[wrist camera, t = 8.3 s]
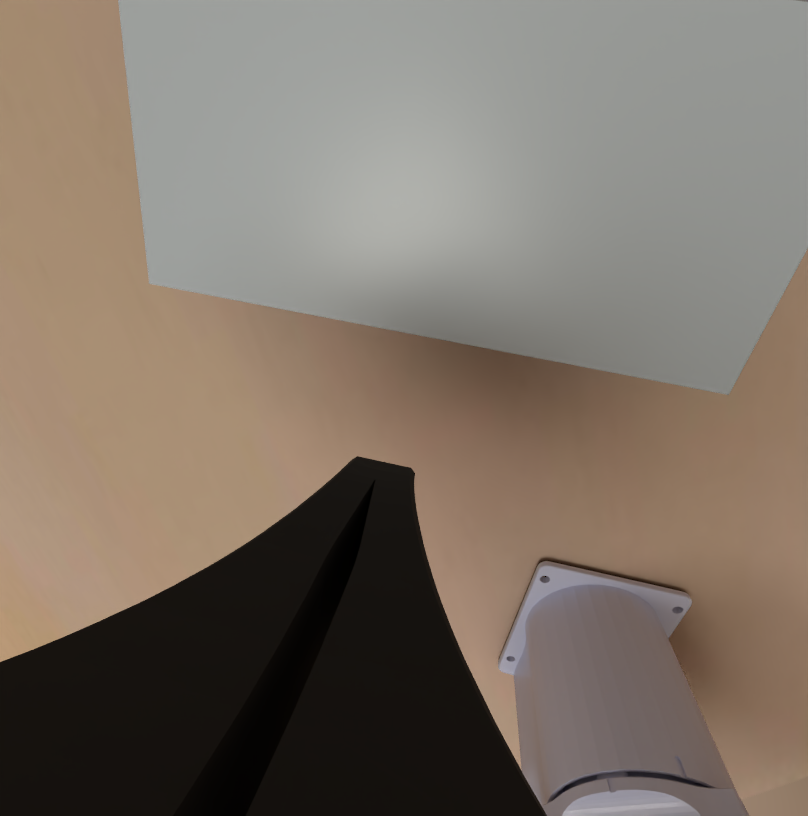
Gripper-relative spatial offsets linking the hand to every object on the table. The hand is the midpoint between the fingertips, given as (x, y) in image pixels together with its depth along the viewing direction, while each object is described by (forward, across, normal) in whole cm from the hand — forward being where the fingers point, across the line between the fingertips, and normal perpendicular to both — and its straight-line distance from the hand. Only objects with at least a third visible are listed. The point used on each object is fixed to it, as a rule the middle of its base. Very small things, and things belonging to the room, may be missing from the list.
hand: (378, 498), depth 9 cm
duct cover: (+7, 0, -7) cm, 10 cm away
